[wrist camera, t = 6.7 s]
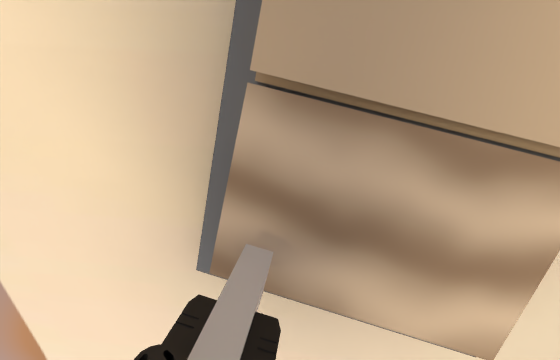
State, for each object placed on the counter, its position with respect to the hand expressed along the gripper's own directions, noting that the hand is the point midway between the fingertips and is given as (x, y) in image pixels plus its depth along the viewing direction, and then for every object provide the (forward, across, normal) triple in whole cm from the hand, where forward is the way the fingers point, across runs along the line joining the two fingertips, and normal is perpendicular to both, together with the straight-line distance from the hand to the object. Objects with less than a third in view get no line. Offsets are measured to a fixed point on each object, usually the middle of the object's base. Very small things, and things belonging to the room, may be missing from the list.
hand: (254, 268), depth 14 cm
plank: (+4, +6, +3) cm, 8 cm away
